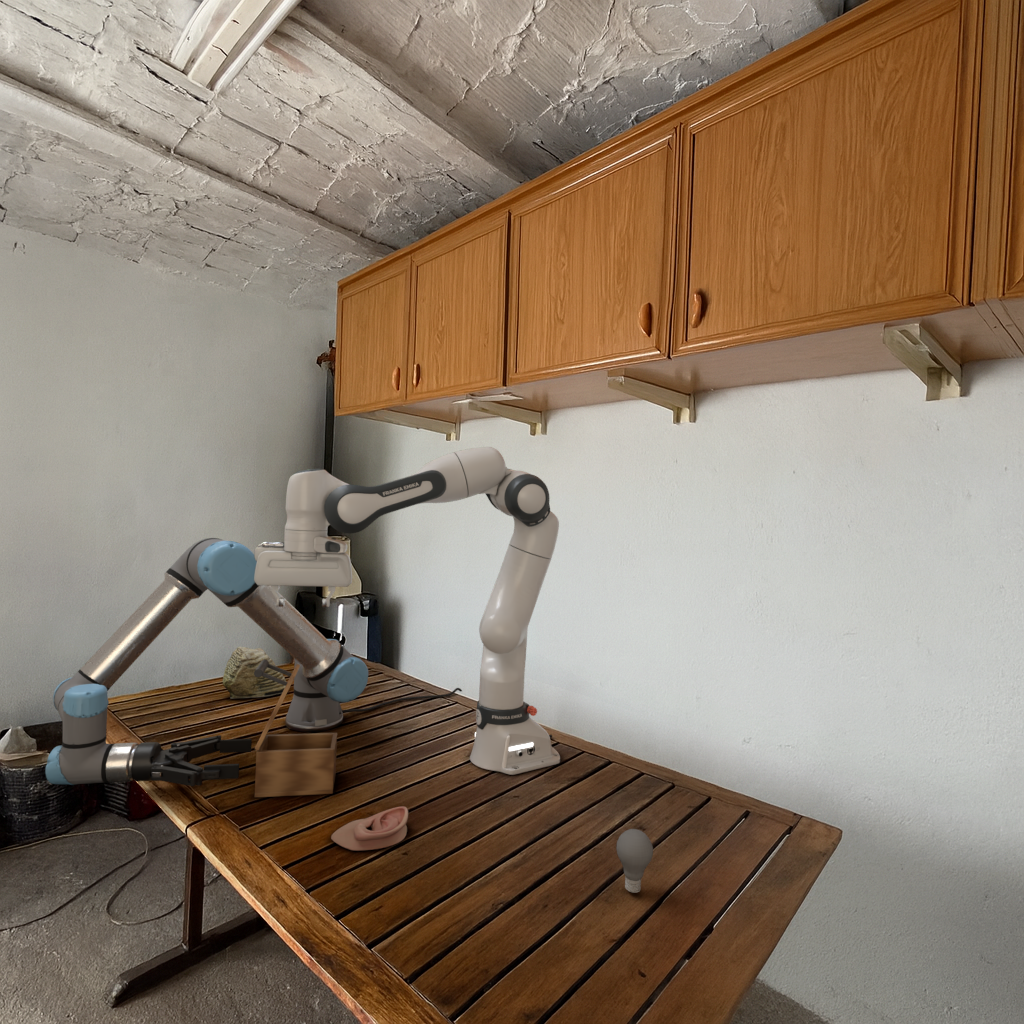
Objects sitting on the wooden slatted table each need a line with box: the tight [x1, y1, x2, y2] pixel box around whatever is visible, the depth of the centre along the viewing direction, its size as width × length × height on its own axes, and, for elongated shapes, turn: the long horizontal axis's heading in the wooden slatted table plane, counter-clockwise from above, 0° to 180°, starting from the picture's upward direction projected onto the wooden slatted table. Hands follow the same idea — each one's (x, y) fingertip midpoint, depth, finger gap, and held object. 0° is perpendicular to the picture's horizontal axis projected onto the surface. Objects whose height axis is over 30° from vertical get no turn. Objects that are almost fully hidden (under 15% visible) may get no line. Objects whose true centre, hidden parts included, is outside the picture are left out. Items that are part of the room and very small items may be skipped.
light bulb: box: [615, 828, 654, 894], centre depth 106 cm, size 6×6×10 cm
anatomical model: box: [330, 805, 409, 852], centre depth 119 cm, size 13×4×12 cm
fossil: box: [222, 646, 287, 699], centre depth 198 cm, size 9×18×15 cm, turn 132°
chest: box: [254, 732, 338, 798], centre depth 138 cm, size 16×10×10 cm, turn 102°
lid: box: [254, 660, 300, 751], centre depth 137 cm, size 17×10×8 cm
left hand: (245, 757), depth 136 cm, fingers open, 13 cm apart
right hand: (303, 606), depth 138 cm, fingers open, 8 cm apart
